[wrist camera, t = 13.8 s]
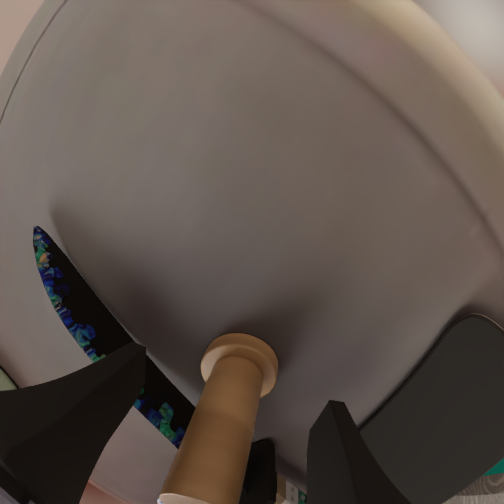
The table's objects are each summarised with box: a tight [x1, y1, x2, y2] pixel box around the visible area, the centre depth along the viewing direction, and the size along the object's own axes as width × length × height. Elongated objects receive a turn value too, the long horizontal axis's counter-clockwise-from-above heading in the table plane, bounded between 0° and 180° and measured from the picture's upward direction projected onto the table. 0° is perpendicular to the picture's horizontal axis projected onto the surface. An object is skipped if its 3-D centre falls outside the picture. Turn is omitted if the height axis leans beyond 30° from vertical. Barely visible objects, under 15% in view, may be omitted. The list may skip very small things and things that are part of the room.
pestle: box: [159, 333, 278, 504], centre depth 10 cm, size 4×4×8 cm
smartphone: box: [359, 313, 504, 504], centre depth 10 cm, size 8×1×15 cm
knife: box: [33, 226, 307, 504], centre depth 13 cm, size 31×3×4 cm, turn 36°
